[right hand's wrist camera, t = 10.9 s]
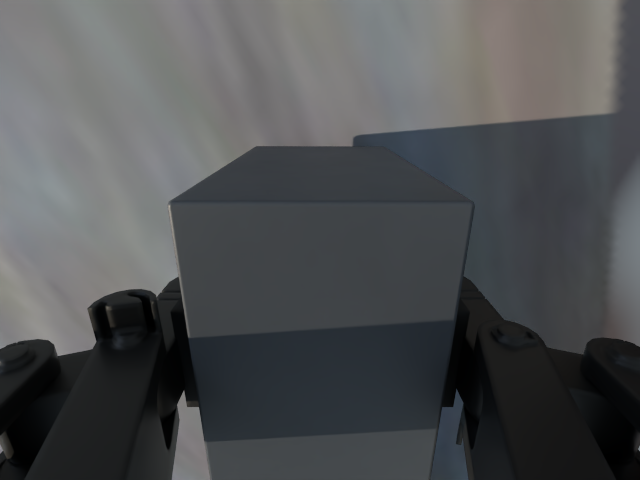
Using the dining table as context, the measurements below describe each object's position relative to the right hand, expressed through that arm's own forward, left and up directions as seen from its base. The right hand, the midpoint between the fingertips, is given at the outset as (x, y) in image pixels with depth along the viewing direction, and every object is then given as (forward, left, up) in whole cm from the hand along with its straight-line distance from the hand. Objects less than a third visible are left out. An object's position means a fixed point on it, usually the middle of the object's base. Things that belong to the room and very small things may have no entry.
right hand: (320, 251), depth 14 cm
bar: (+18, +19, -1) cm, 26 cm away
